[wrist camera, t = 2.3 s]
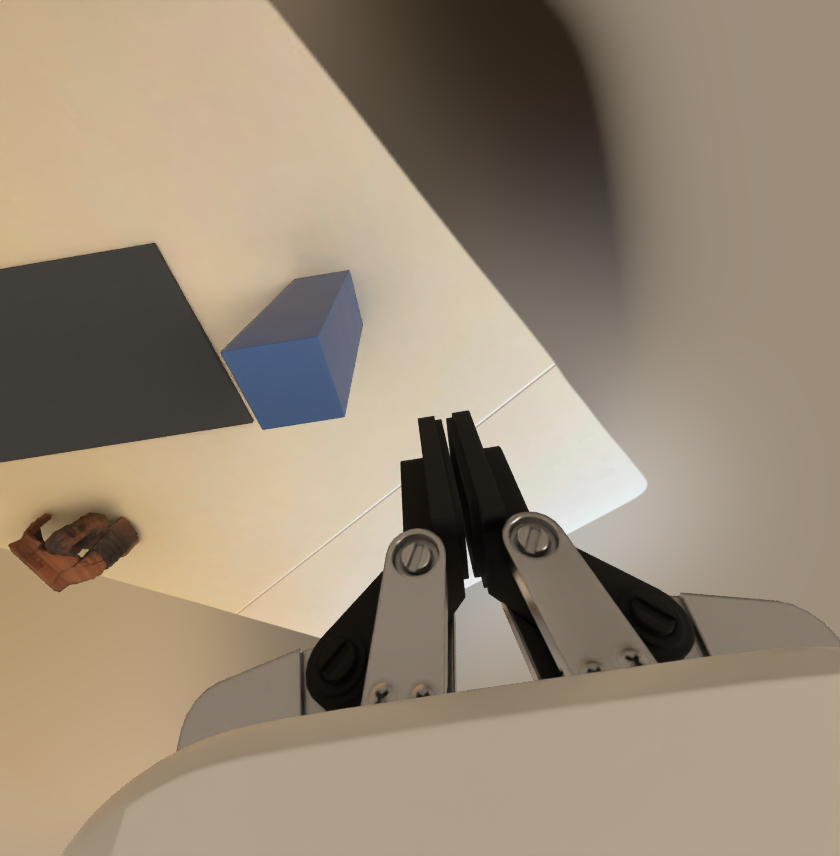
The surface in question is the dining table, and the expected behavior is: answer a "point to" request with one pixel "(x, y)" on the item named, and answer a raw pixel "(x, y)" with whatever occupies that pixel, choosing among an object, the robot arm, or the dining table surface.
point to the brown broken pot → (74, 549)
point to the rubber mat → (104, 356)
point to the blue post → (299, 352)
